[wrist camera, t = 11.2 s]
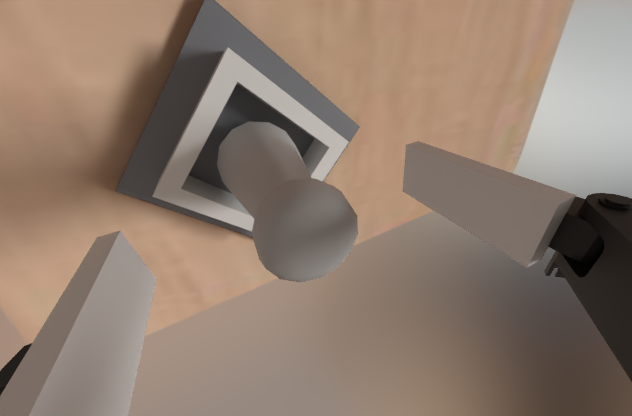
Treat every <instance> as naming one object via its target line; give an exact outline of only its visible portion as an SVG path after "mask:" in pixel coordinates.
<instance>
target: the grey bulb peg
mask: <svg viewBox="0 0 632 416" xmlns="http://www.w3.org/2000/svg"><path fill="white" fill-rule="evenodd" d="M217 167H218V170H219V173H220V176H221V179H222V182H223V183H224V184H225V185H226V187H227V188H228V189H229V190H230V191H231V193H232V194H233V195H234V196H235V197H236V198H237V200H238V201H239V202H240V203H241V204H242V205H243V207H244V208H245V209H246V210H247V211H248V212H249V214H250V215H251V216H252V217H253V218H254V224H253V229H252V234H253V240H254V243H255V246H256V249H257V253H258V256H259V259H260V261H261V262H262V264H263V265H264V267H265V268H266V269H267V270H269V271H270V272H271V273H273V274H274V275H275V276H277V277H278V278H279V279H283V280H289V281H296V282H305V281H309V280H313V279H316V278H321V277H323V276H325V275H326V274H328V273H330V272H331V271H333V270H335V269H336V268H338V267H339V265H340V264H341V263H342V262H343V261H344V260H345V259H346V257H347V256H348V255H349V253H350V251H351V249H352V247H353V244H354V242H355V240H356V237H357V234H358V227H357V215H356V213H355V212H354V210H353V209H352V207H351V206H350V204H349V202H348V201H347V199H346V198H345V196H344V195H343V193H342V192H341V191H340V190H338V189H337V188H335V187H334V186H332V185H329V184H327V183H325V182H322V181H320V180H318V179H313V178H311V176H310V174H309V172H308V170H307V168H306V166H305V164H304V162H303V160H302V158H301V155H300V153H299V151H298V149H297V147H296V145H295V144H294V142H293V141H292V140H291V138H290V137H289V135H288V134H287V132H286V131H284V130H283V129H281V128H279V127H277V126H275V125H273V124H271V123H269V122H249V121H248V122H246V123H244V124H242V125H240V126H238V127H236V128H234V129H232V130H231V131H230V133H229V134H228V135H227V136H226V138H225V139H224V140H223V141H222V143H221V144H220V145H219V152H218V160H217Z"/></svg>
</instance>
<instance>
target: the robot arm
mask: <svg viewBox="0 0 632 416" xmlns="http://www.w3.org/2000/svg"><path fill="white" fill-rule="evenodd" d="M403 192H405V193H406V194H408V195H410V196H411V197H413V198H415V199H416V200H418V201H419V202H421V203H423V204H424V205H426V206H428V207H429V208H431V209H432V210H434V211H436V212H437V213H439V214H441V215H442V216H444V217H445V218H447V219H449V220H450V221H452V222H454V223H455V224H457V225H459V226H460V227H462V228H463V229H465V230H466V231H468V232H470V233H471V234H473V235H475V236H476V237H478V238H479V239H481V240H483V241H484V242H486V243H488V244H489V245H491V246H493V247H494V248H496V249H497V250H499V251H501V252H502V253H504V254H505V255H507V256H509V257H510V258H512V259H514V260H515V261H517V262H519V263H520V264H522V265H523V266H525V267H529V266H531V265H533V264H534V263H536V262H538V261H540V260H541V259H542V258H543V256H544V253H545V252H546V250H547V248H548V247H550V248H552V249H554V250H556V252H555V254H554V255H553V257H552V259H551V261H550V262H549V264H548V266H547V268H546V269H545V274H546V276H550V274H551V273H552V271H553V269H554V268H558V270H557V271H556V273H555V277H563V278H566V280H567V281H568V283H569V285H570V286H571V288H572V289H573V291H574V292H575V294H576V295H577V297H578V299H579V300H580V302H581V303H582V305H583V306H584V308H585V310H586V311H587V313H588V314H589V316H590V317H591V319H592V321H593V322H594V324H595V325H596V327H597V328H598V330H599V331H600V333H601V334H602V336H603V338H604V339H605V341H606V342H607V344H608V345H609V347H610V349H611V350H612V352H613V353H614V355H615V356H616V358H617V360H618V361H619V363H620V364H621V366H622V367H623V369H624V370H625V372H626V374H627V375H628V377H629V378H630V380H631V381H632V199H631V198H628V197H624V196H620V195H615V194H606V193H596V194H591V195H588V196H587V198H586V199H582V198H579V197H576V195H574V194H571V193H567V192H565V191H562V190H559V189H556V188H553V187H550V186H547V185H544V184H542V183H539V182H536V181H533V180H530V179H527V178H524V177H521V176H518V175H515V174H512V173H509V172H507V171H504V170H501V169H498V168H495V167H492V166H489V165H486V164H483V163H480V162H477V161H474V160H471V159H469V158H466V157H463V156H460V155H457V154H454V153H451V152H448V151H445V150H442V149H439V148H436V147H433V146H430V145H428V144H425V143H422V142H419V141H418V142H414V143H411V144H408V145H406V155H405V167H404V180H403ZM156 280H157V279H156V278H155V276H154V275H153V274H152V272H151V271H150V270H149V268H148V267H147V266H146V264H145V263H144V262H143V260H142V259H141V258H140V256H139V255H138V254H137V252H136V251H135V250H134V248H133V247H132V246H131V244H130V243H129V242H128V240H127V239H126V237H125V236H124V235H123V233H122V232H121V231H117V232H114V233H111V234H107V235H104V236H101V237H97V238H96V240H95V242H94V243H93V245H92V247H91V248H90V250H89V252H88V253H87V255H86V256H85V258H84V260H83V261H82V263H81V265H80V266H79V268H78V270H77V271H76V273H75V274H74V276H73V278H72V279H71V281H70V283H69V284H68V286H67V288H66V289H65V291H64V292H63V294H62V296H61V297H60V299H59V301H58V302H57V304H56V306H55V307H54V309H53V310H52V312H51V314H50V315H49V317H48V319H47V320H46V322H45V324H44V325H43V327H42V328H41V330H40V332H39V333H38V335H37V337H36V338H35V340H34V342H33V343H31V344H29V345H26V346H24V347H23V348H22V349H21V350H20V351H19V352H18V353H17V354H16V355H15V356H14V357H13V358H12V359H11V360H10V361H9V362H8V363H7V365H5V366H4V368H3V369H2V370H1V371H0V416H128V413H129V408H130V403H131V399H132V394H133V389H134V384H135V380H136V375H137V370H138V365H139V360H140V356H141V351H142V346H143V342H144V337H145V332H146V327H147V323H148V318H149V313H150V308H151V304H152V299H153V294H154V289H155V284H156Z"/></svg>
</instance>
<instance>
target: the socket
mask: <svg viewBox="0 0 632 416" xmlns="http://www.w3.org/2000/svg"><path fill="white" fill-rule="evenodd" d="M248 121H249V122H269V123H271V124H273V125H275V126H277V127H279V128H281V129H283V130H284V131H286V132H287V134H288V135H289V137H290V138H291V140H292V141H293V142H294V144H295V145H296V147H297V149H298V151H299V153H300V155H301V158H302V160H303V162H304V164H305V166H306V168H307V170H308V172H309V174H310V176H311V178H313V179H318V180H320V181H322V182H323V181H324V180H325V178H326V177H327V175H328V174H329V172H330V171H331V169H332V168H333V166H334V165H335V163H336V162H337V160H338V159H339V157H340V156H341V154H342V153H343V151H344V150H345V148H346V147H347V145H348V144H349V142H350V141H351V139H352V138H353V136H354V135H355V133H356V132H357V130H358V129H359V126H358V125H357V124H356V123H355V122H354V121H353V120H351V119H350V118H349V117H348V116H347V115H346V114H345V113H343V112H342V111H341V110H340V109H339V108H338V107H336V106H335V105H334V104H333V103H332V102H331V101H330V100H328V99H327V98H326V97H325V96H324V95H323V94H322V93H320V92H319V91H318V90H317V89H316V88H315V87H314V86H312V85H311V84H310V83H309V82H308V81H307V80H305V79H304V78H303V77H302V76H301V75H300V74H299V73H297V72H296V71H295V70H294V69H293V68H292V67H291V66H289V65H288V64H287V63H286V62H285V61H284V60H283V59H281V58H280V57H279V56H278V55H277V54H276V53H275V52H273V51H272V50H271V49H270V48H269V47H268V46H266V45H265V44H264V43H263V42H262V41H261V40H260V39H258V38H257V37H256V36H255V35H254V34H253V33H252V32H250V31H249V30H248V29H247V28H246V27H245V26H244V25H242V24H241V23H240V22H239V21H238V20H237V19H235V18H234V17H233V16H232V15H231V14H230V13H229V12H227V11H226V10H225V9H224V8H223V7H222V6H221V5H219V4H218V3H217V2H216V1H215V0H204V3H203V5H202V7H201V9H200V11H199V13H198V15H197V18H196V20H195V22H194V24H193V26H192V28H191V30H190V33H189V35H188V37H187V39H186V41H185V43H184V45H183V48H182V50H181V52H180V54H179V56H178V58H177V60H176V63H175V65H174V67H173V69H172V71H171V73H170V75H169V78H168V80H167V82H166V84H165V86H164V88H163V90H162V93H161V95H160V97H159V99H158V101H157V103H156V105H155V107H154V110H153V112H152V114H151V116H150V118H149V120H148V122H147V125H146V127H145V129H144V131H143V133H142V135H141V137H140V140H139V142H138V144H137V146H136V148H135V150H134V152H133V155H132V157H131V159H130V161H129V163H128V165H127V167H126V170H125V172H124V174H123V176H122V178H121V180H120V182H119V185H118V187H117V189H116V191H117V192H120V193H123V194H126V195H129V196H132V197H135V198H138V199H141V200H144V201H147V202H150V203H153V204H156V205H159V206H162V207H165V208H168V209H171V210H174V211H177V212H180V213H183V214H186V215H188V216H191V217H194V218H197V219H200V220H203V221H206V222H209V223H212V224H215V225H218V226H221V227H224V228H227V229H230V230H233V231H236V232H239V233H242V234H245V235H248V236H251V237H253V234H252V229H253V224H254V218H253V217H252V216H251V215H250V214H249V212H248V211H247V210H246V209H245V208H244V207H243V205H242V204H241V203H240V202H239V201H238V200H237V198H236V197H235V196H234V195H233V194H232V193H231V191H230V190H229V189H228V188H227V187H226V185H225V184H224V183H223V182H222V179H221V176H220V173H219V170H218V167H217V160H218V152H219V145H220V144H221V143H222V141H223V140H224V139H225V138H226V136H227V135H228V134H229V133H230V131H231V130H232V129H234V128H236V127H238V126H240V125H242V124H244V123H246V122H248Z"/></svg>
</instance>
